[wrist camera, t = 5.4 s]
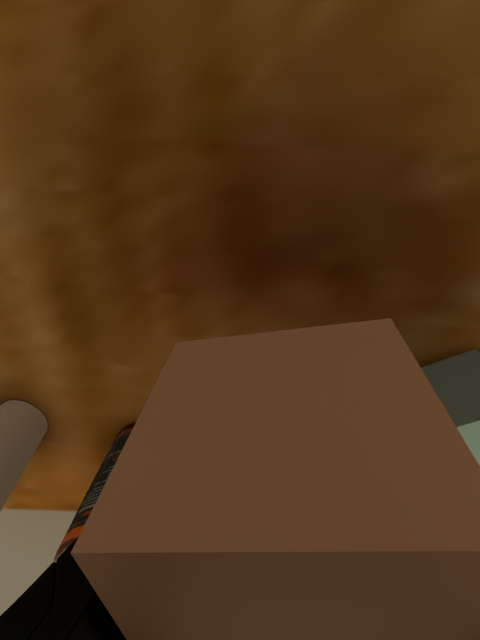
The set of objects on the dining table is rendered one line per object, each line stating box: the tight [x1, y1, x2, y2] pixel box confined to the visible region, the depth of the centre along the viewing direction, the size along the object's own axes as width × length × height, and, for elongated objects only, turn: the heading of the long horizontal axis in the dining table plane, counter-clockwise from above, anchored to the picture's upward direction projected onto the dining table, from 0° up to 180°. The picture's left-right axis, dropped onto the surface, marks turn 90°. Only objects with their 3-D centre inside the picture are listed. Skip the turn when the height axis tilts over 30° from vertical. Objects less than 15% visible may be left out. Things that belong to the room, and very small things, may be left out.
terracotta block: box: [71, 318, 480, 640], centre depth 7 cm, size 5×5×5 cm
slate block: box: [421, 349, 480, 466], centre depth 20 cm, size 5×5×5 cm
